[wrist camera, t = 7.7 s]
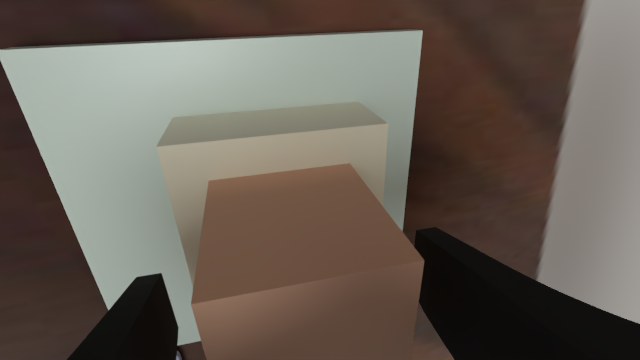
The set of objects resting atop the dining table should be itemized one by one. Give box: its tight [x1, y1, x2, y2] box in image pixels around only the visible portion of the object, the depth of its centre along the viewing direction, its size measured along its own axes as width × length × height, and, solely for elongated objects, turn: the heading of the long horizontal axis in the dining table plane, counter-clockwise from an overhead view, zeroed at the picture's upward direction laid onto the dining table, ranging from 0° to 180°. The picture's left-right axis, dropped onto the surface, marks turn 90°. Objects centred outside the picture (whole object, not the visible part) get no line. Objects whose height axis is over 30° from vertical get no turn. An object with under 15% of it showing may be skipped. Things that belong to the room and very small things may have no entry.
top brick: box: [191, 163, 424, 360], centre depth 10 cm, size 4×4×5 cm
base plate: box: [0, 29, 423, 346], centre depth 14 cm, size 14×14×4 cm
